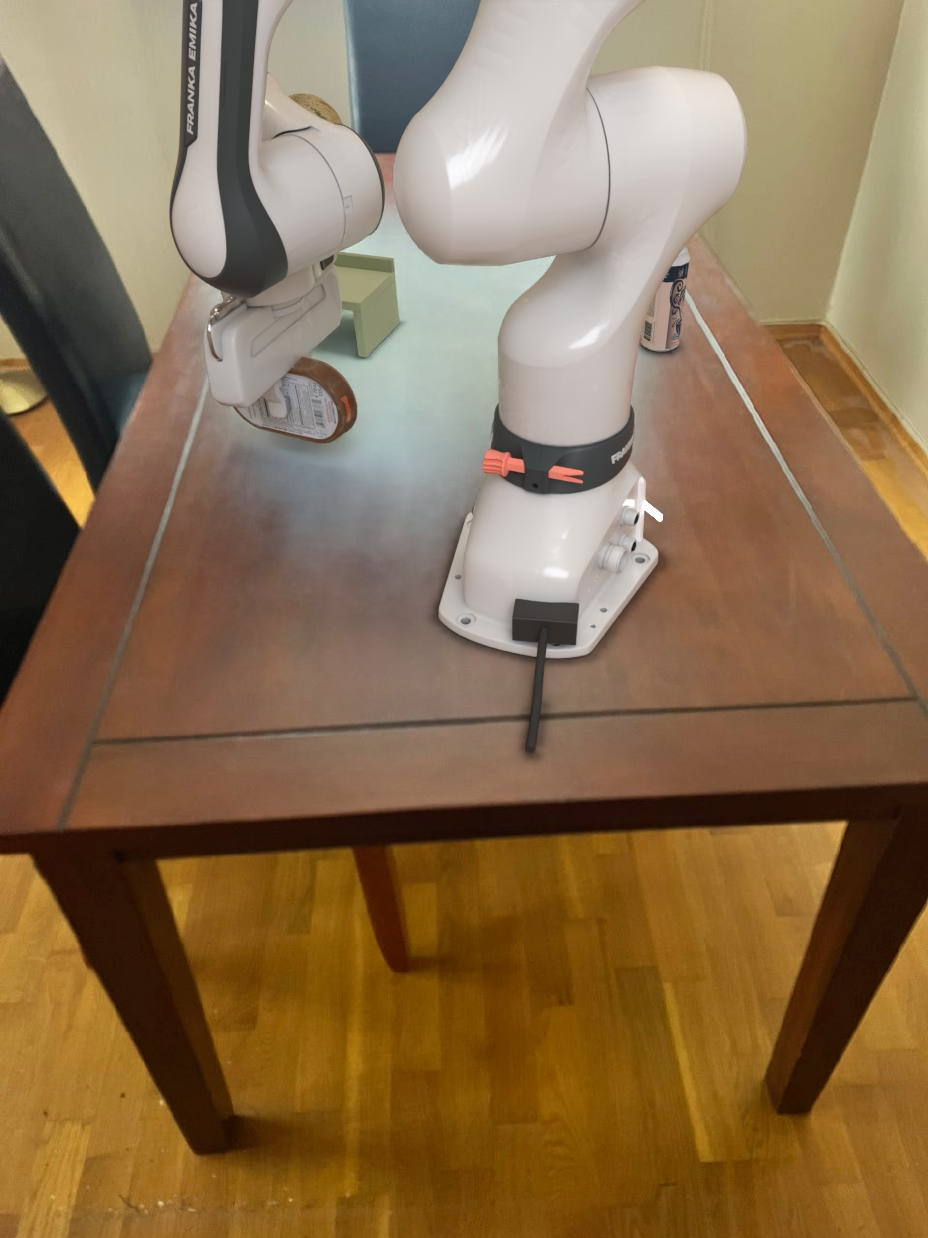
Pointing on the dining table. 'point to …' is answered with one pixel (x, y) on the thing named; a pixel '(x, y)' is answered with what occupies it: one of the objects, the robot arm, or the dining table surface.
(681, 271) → the beer can
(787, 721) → the dining table surface
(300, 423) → the tin
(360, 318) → the shelf
